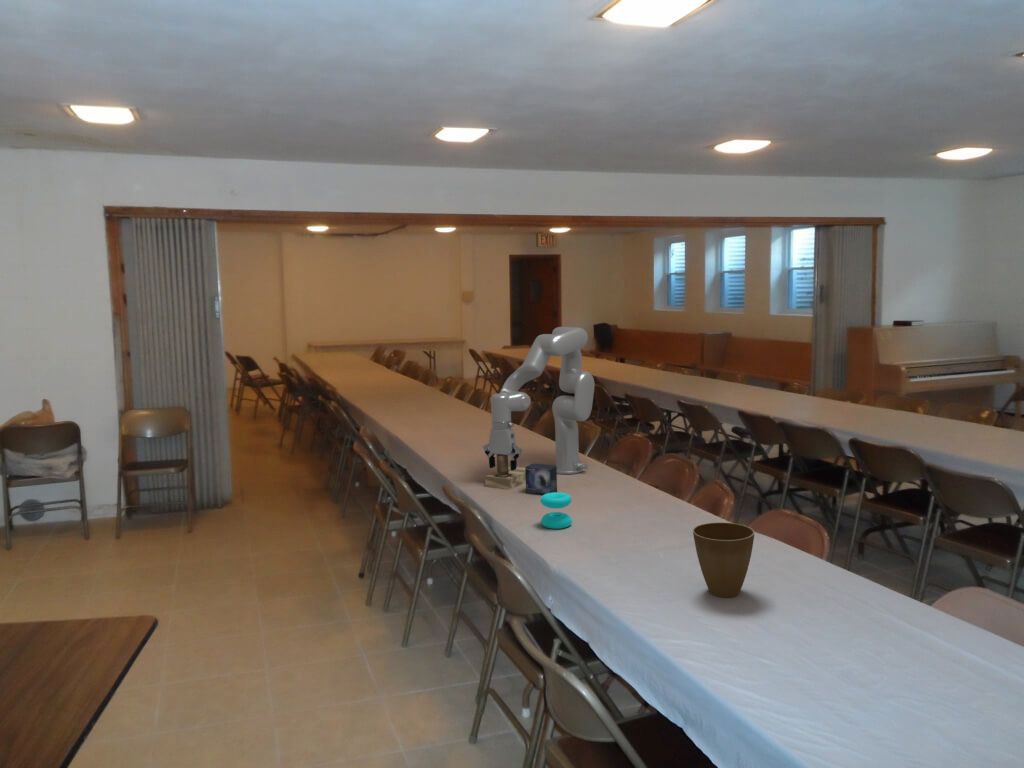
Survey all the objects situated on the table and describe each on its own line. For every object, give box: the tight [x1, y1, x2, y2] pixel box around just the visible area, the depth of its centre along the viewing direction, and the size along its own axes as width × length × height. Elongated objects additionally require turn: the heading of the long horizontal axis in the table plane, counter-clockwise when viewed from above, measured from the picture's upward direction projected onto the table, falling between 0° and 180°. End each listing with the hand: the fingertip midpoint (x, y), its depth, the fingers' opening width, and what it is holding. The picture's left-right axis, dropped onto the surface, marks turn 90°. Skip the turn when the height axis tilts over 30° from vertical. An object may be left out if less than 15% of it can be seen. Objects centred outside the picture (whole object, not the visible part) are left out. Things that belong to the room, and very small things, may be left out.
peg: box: [496, 454, 509, 478], centre depth 314 cm, size 4×4×12 cm
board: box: [484, 465, 526, 490], centre depth 320 cm, size 20×11×4 cm, turn 149°
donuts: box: [540, 491, 573, 530], centre depth 261 cm, size 10×10×10 cm
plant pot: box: [692, 521, 755, 598], centre depth 202 cm, size 15×15×16 cm
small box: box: [525, 462, 558, 496], centre depth 302 cm, size 11×6×10 cm, turn 62°
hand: (502, 468), depth 314 cm, fingers open, 9 cm apart
